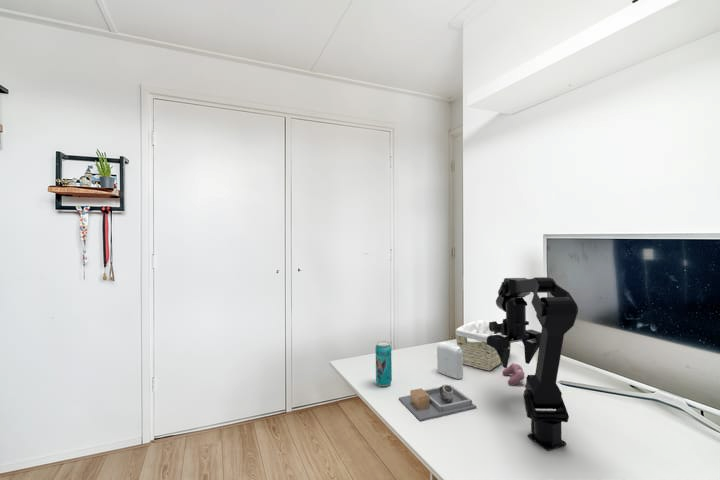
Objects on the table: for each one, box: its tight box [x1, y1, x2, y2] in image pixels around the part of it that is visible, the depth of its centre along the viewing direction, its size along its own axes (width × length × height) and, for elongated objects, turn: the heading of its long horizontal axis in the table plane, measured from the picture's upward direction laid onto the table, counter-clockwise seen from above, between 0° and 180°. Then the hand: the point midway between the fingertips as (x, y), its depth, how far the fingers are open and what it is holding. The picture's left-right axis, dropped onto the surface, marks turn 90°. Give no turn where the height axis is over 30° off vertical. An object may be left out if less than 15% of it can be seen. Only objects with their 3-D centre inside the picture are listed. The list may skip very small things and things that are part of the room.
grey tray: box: [398, 384, 477, 422], centre depth 107 cm, size 14×20×5 cm
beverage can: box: [375, 340, 393, 387], centre depth 122 cm, size 6×6×15 cm
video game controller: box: [502, 362, 525, 386], centre depth 123 cm, size 10×5×7 cm, turn 170°
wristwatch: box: [439, 384, 453, 403], centre depth 108 cm, size 4×6×5 cm, turn 15°
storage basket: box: [455, 319, 512, 371], centre depth 143 cm, size 24×16×15 cm
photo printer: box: [436, 341, 464, 380], centre depth 129 cm, size 10×4×12 cm, turn 39°
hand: (516, 365), depth 107 cm, fingers open, 9 cm apart
